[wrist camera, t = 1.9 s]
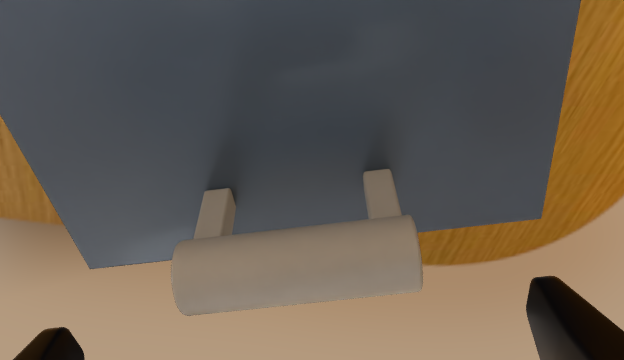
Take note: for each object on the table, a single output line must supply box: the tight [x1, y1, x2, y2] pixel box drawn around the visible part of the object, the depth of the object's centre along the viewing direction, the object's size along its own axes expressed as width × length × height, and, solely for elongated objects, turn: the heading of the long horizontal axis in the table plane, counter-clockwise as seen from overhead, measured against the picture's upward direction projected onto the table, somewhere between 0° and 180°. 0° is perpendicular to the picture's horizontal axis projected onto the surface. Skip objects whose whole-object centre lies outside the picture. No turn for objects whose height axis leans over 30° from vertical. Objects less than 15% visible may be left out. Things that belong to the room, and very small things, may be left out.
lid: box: [0, 0, 581, 316], centre depth 9 cm, size 12×13×4 cm
